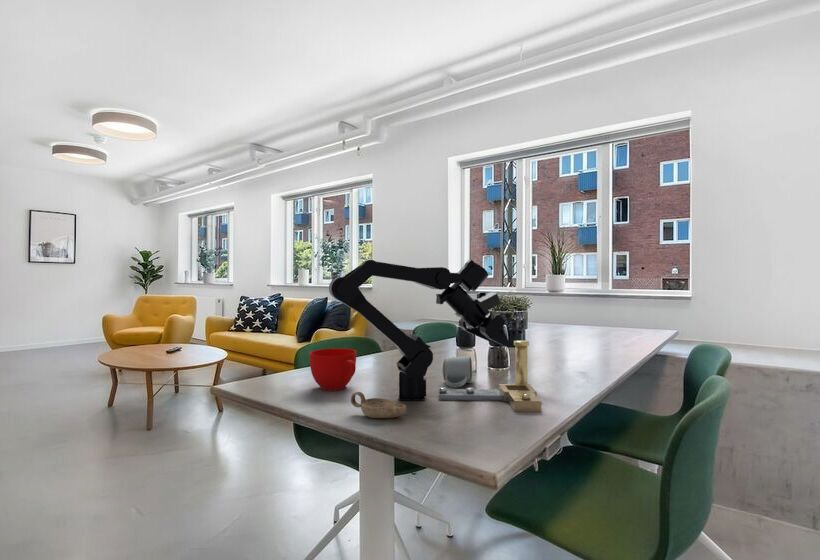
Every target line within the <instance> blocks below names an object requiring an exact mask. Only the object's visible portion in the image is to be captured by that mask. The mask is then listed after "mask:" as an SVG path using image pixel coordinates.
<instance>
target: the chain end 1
mask: <svg viewBox="0 0 820 560" xmlns="http://www.w3.org/2000/svg"><path fill="white" fill-rule="evenodd" d="M522 391H526V390H522ZM438 400H439V401H503V402H505V403H506V402H507V403H509V402H508V397H504V396H503V394H502V393H501V391H500V389H499V388H498V389H496V388H495V389H492V388H491V389H489V388H488V389H487V388H486V389H483V388H479V389H477V388H474V387H471V386H470V387H469V386H468V387H466V388H447V387H444V386H441V387H438Z"/></svg>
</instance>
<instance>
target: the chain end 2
mask: <svg viewBox="0 0 820 560" xmlns="http://www.w3.org/2000/svg"><path fill="white" fill-rule="evenodd" d="M498 389H500V391H501V393H502V394H503V396H504V397H508V402H507V403H508V404H509V405H510V407H511V408H512V409H513V412H524V413H525V412H528V413H530V412H531V413H532V412H533V413H535V412H536V413H541V412H542V401H541V400H540V398H539V397H538V392H537V390H536V389H535V388H534V387H533V386H532V384H530V383H528V384H516V383H498ZM522 390H526V391H522Z"/></svg>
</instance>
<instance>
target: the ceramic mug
mask: <svg viewBox="0 0 820 560" xmlns="http://www.w3.org/2000/svg"><path fill="white" fill-rule="evenodd" d="M472 363H473V362H472V357H471V355H470V356H469V355H467V356H450V357H445V358H444V359H443V361H442V377H443V380H444V381H445V383H446V385H447V386H448V387H450V388H453V389H458V388H461V387H464V385H466V384H472V381H473V364H472Z"/></svg>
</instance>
